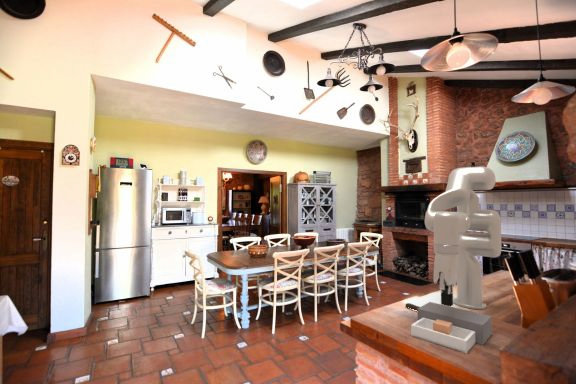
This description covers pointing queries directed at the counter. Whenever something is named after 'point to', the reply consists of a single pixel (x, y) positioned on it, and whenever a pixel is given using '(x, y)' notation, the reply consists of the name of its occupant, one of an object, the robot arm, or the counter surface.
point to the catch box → (444, 335)
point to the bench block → (459, 319)
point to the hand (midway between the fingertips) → (446, 304)
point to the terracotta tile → (442, 326)
